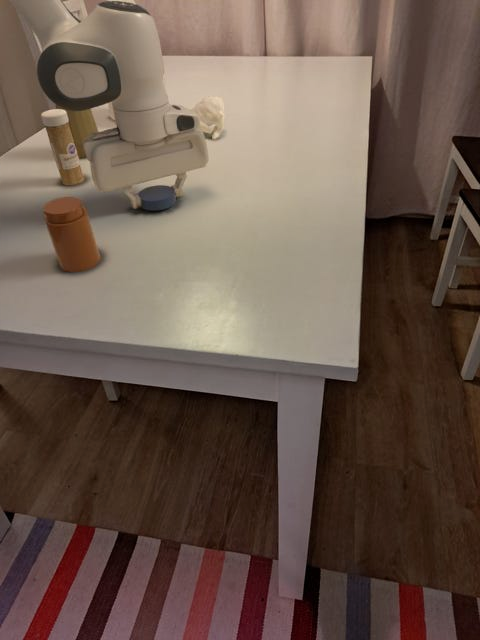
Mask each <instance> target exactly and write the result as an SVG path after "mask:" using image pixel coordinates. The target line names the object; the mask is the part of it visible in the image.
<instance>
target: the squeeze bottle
mask: <svg viewBox="0 0 480 640" xmlns="http://www.w3.org/2000/svg"><path fill="white" fill-rule="evenodd" d="M54 105H55V109H63V110H65V111H66V113H67V116H68V119H69V121H68V122H69V127H70V130H71V134H72V137H73V141H74V144H75V148H76V150H77V154H78V158H79V159H84V158H86V156H85V153H84V149H83V143H84V140H85V139H86V138H87V137H89V136H90V134H91V133H93V132H99V129H98V127H97V123H96V120H95V118H94V114H93V112H92V108H91V109H88V110H83V111H70V110H66V109H64V108H61V107H59V106H58V105H56V104H55V103H54ZM89 140H91V139H89ZM89 140H88V141H89Z"/></svg>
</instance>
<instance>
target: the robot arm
mask: <svg viewBox="0 0 480 640" xmlns="http://www.w3.org/2000/svg"><path fill="white" fill-rule="evenodd" d="M8 2H9V3H10V4H11V5H12V7H14V9H15V10H16V12H17V13H18V14H19V15H20V16H21V18H22V19H23V21H24V22H25V24H27V26H28V27H29V28H30V30H31V31H32V32H33V34H34V35H35V37H36V38H37V40H38V42H39V44H40V47H41V52H40V54H39V57H38V59H37V65H36V75H37V80H38V83H39V86H40V88H41V89H42V92H43V93H44V94H45V96H46V97H47V98H48V99H49V100H50V101H51V102H52V103H53V104H54V105H55V104H56V105H58V106H59V107H61V108H64V109H66V110H70V111H83V110H88V109H91V110H92V109H94V108H98V107H101V106H105V105H108V103H109V102H111V103H112V107H113V111H114V116H115V120H114V121H115V125H116V127H112V128H108V129H105V130H102V131H98V132H93V133H91V134H90V136H89V137H87V138H86V139H85V140H84V143H83V149H84V153H85V156H86V157H85V158H86V159H87V161H88V162H89V166H90V174H91V178H92V181H93V184H94V186H95V187H96V188H97V189H98V190H99V191H100V192H102V193H108V192H111V191H116V190H120V189H121V190H122V191H123V193H124V194H125V195H126V196H127V197H128V198H129V199H130V201H129V202H130V204H131V207H132V208H133V209H134V210H135V209H139V208H142V204H141V198H140V197H139V196H138V194H132V192H133V186H135V185H139V184H143V183H148V182H151V181H156V180H159V179H162V178H167V177H170V176H176V179H175V182H174V184H172V185H170V187H172V188H173V189H174V190H175V197H176V198H179V197H183V194H184V193H183V187H184V184H185V182H186V180H187V172H190V171H194V170H199V169H203V168H206V167H207V165H208V162H209V150H208V145H207V139H206V136H205V133H204V132H203V131H201V130H200V129H199V128H198V127H199V126H200V118H199V116H198V115H197V114H196V113H194V112H193V111H192V109H190V108H188V107H186V106H183V105H179V104H172V103H170V101H169V96H168V92H167V93H166V91H167V90H166V91H165V88H164V81H163V78H164V79H165V66H164V58H163V52H162V47H161V42H160V36H159V32H158V28H157V25H156V22H155V19H154V17H153V16H152V14H151V13H149V11H148V10H147V9H146V8H144V7H143V6H141V5H140V4H136V5H135V4H133V3H128V2H121V1H107V0H105V1H101V2H98V3H97V5H96V6H95V7H94V9H93V10H92V11H91V12H90V13H89V14H88V15H87V16H85V18H84V19H82V20H81V19H79V18H78V17H76V16H75V14H73V12H71V11H70V10H69V8H67V6H66V5H65V3H64V2H63V1H62V0H8ZM56 105H55V106H56ZM89 139H91V140H89ZM88 140H89V141H88Z"/></svg>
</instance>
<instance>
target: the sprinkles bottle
mask: <svg viewBox="0 0 480 640" xmlns="http://www.w3.org/2000/svg"><path fill="white" fill-rule="evenodd" d="M40 118H41V121H42V124H43V126H44V128H45V130H46V133H47V138H48V142H49V144H50V149H51V152H52V155H53V157H54V161H55V164H56V167H57V169H58V173H59V176H60V179H61V183H62V185H64V186H67V187H68V186H76V185H80V184H81V183H83V182H84V181H85V175H84V174H83V170H82V166H81V162H80V158H78V154H77V150H76V148H75V144H74V141H73V137H72V134H71V130H70V127H69V122H68V121H69V119H68V116H67V113H66V111H65V110H63V109H56V108H53V109H49V110H45V111H43V112H42V113H41V114H40Z"/></svg>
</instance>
